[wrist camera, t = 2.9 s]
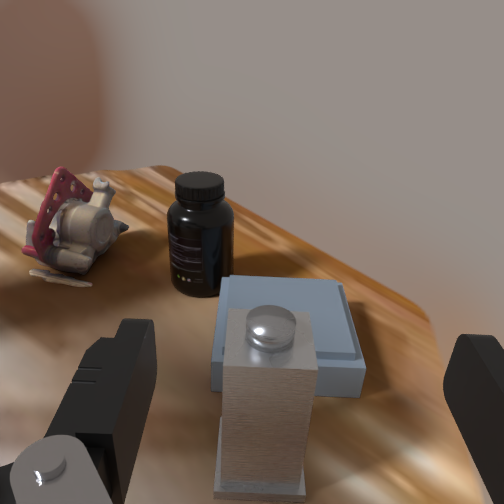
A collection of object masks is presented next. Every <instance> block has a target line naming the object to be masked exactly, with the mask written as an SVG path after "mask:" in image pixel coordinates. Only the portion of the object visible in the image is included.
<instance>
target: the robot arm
mask: <svg viewBox="0 0 504 504" xmlns="http://www.w3.org/2000/svg"><path fill="white" fill-rule="evenodd" d="M156 375H157V359H156V345H155V332H154V323H153V320H149V319H126V318H124V319H123V320H122V321H121V324H120V326H119V328H118V331H117V333H116V335H115V338H105V337H101V338H100V339H99V340H97V341H96V342H95V343H94V344H93V345H92V346H91V347H90V348H89V349H88V350H86V352H85V354H84V356H83V358H82V360H81V362H80V364H79V366H78V370H77V371H76V373H75V375H74V377H73V379H72V383H70V385H69V387H68V389H67V391H66V393H65V395H64V397H63V399H62V402H61V404H60V406H59V408H58V410H57V412H56V414H55V416H54V418H53V420H52V422H51V424H50V426H49V428H48V430H47V433H46V434H45V436H44V438H43V439H40V440H38V441H36V442H35V443H33V444H31V445H30V446H28V447H27V448H26V449H25V450H24V451H23V452H22V453H21V454H20V455H19V456H18V457H17V459H16V460H15V462H13V463H10V464H8V465H5V466H2V467H0V504H124V502H125V498H126V494H127V491H128V487H129V483H130V479H131V475H132V472H133V468H134V464H135V460H136V456H137V453H138V449H139V445H140V441H141V437H142V434H143V430H144V426H145V422H146V419H147V415H148V411H149V407H150V403H151V400H152V396H153V392H154V388H155V383H156ZM443 391H444V396H445V400H446V402H447V404H448V407H449V409H450V411H451V413H452V415H453V417H454V419H455V422H456V424H457V426H458V428H459V430H460V432H461V435H462V437H463V439H464V441H465V443H466V445H467V447H468V450H469V452H470V454H471V456H472V458H473V460H474V463H475V465H476V467H477V469H478V471H479V473H480V475H481V478H482V479H483V482H484V484H485V486H486V488H487V490H488V492H489V495H490V497H491V499H492V501H493V503H494V504H504V349H503V348H502V347H501V345H500V344H499V342H498V341H497V339H496V338H495V337H494V336H492V335H475V334H461V335H460V336H459V337H458V338H457V341H456V343H455V347H454V349H453V352H452V355H451V358H450V361H449V364H448V367H447V370H446V373H445V376H444V380H443Z"/></svg>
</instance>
